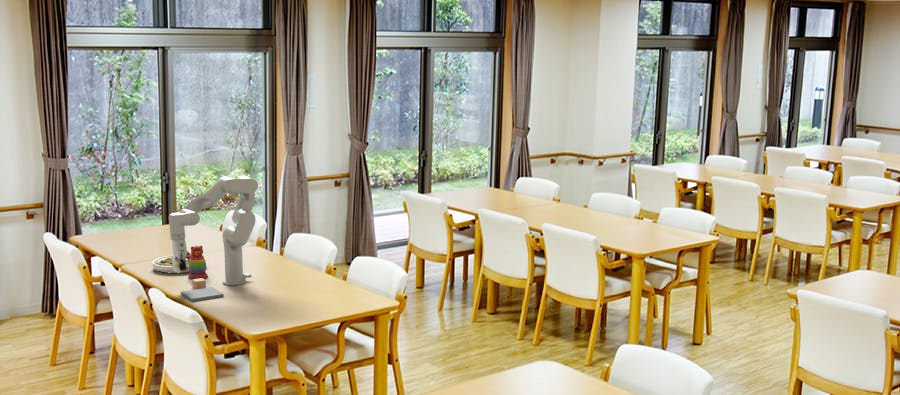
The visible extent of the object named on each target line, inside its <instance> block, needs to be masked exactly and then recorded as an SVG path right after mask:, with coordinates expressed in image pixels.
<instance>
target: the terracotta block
mask: <svg viewBox="0 0 900 395" xmlns="http://www.w3.org/2000/svg"><path fill="white" fill-rule="evenodd" d="M191 281H192V282H191V283H192V284H191V286H192V290H194V289H201V288H207V283H206V282H207V281H206V279H205V278H196V279H191Z"/></svg>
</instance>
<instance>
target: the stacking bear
mask: <svg viewBox="0 0 900 395" xmlns="http://www.w3.org/2000/svg"><path fill="white" fill-rule="evenodd" d="M190 254H192V257H191V258H190V263H189V269H190V272H189V274H188V276H187V277H188V279H189V278H196V279H199V278H203V279H207V278H206V277H208V278H209V276H208V275H209V274H208V273H207V272H206V271H207V263H206V262H207V260H206V261H205V259H206V257H205V256H204V255H203V254H204V250H203V246H202V245H195V246H191V247H190Z"/></svg>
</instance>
